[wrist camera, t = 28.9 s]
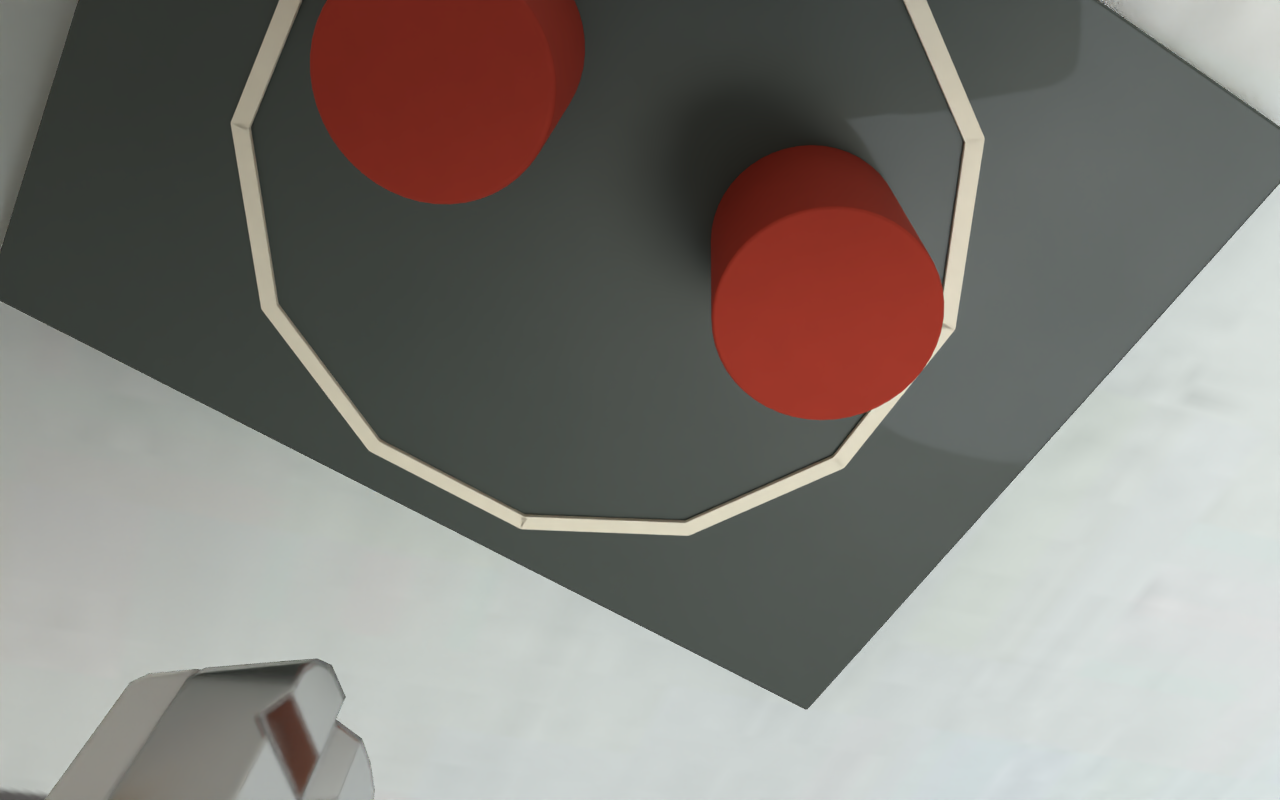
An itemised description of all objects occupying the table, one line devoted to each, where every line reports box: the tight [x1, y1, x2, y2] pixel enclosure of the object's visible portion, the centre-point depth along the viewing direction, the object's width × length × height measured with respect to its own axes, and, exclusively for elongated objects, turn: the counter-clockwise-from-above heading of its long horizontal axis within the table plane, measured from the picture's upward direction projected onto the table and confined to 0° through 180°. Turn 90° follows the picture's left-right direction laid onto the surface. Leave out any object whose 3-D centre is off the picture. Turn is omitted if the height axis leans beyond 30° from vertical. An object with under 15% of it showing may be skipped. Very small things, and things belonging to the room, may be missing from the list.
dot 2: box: [711, 145, 944, 420], centre depth 16 cm, size 3×3×4 cm
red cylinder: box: [310, 0, 585, 204], centre depth 15 cm, size 3×3×4 cm
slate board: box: [0, 0, 1280, 709], centre depth 18 cm, size 14×18×1 cm
